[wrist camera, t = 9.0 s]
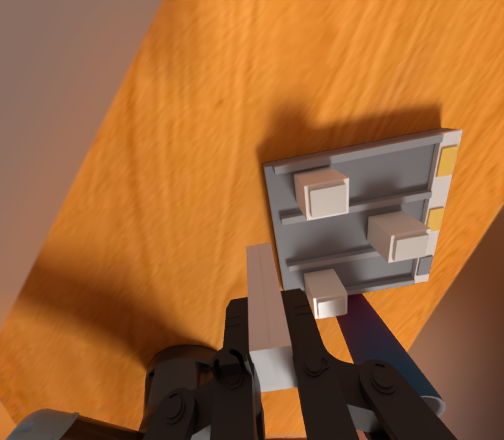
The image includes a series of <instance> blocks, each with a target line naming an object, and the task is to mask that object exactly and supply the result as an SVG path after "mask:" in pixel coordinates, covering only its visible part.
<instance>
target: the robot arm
mask: <svg viewBox="0 0 504 440" xmlns="http://www.w3.org/2000/svg"><path fill="white" fill-rule="evenodd" d="M247 285H248V297H245V298H239V299H233V300H231V301H230V303H229V305H228V306H227V308H226V318H225V319H226V320H225V330H224V342H223V348H222V349H221V350H219V351H218V352H216V351H214V350H211V349H209V348H205V347H201V346H194V345H182V346H175V347H171V348H168V349H165V350H163V351H161V352H159V353H158V354H157V355H155V356H154V358H153V359H152V360H151V363H150V365H149V368H148V371H147V374H146V378H145V394H144V411H143V418H142V422H141V425H140V428H139V431H135V430H132V429H129V428H125V427H121V426H118V425H114V424H110V423H107V422H103V421H99V420H96V419H92V418H88V417H85V416H81V415H79V413H77V412H75V413H67V412H62V411H57V410H52V409H41V410H38V411H35V412H33V413H31V414H30V415H28V416H27V417H26V418H24V419H23V420H22V421H21V422H20V423H19V424H18V426H17V427H16V428H15V429H14V430H13V431H12V433H11V434H10V435H9V436H8V437H7V439H6V440H265V425H264V411H263V407H262V403H261V392H267V391H274V390H281V389H288V388H296V387H298V393H299V398H300V404H301V410H302V415H303V420H304V425H305V430H306V435H307V440H359V437H358V435H357V432H356V429H358V430H361V431H363V432H364V434H365V436H366V437H367V439H368V440H457V439H456V437H455V436H454V435H453V434H452V433H451V432H450V430H449V429H448V428H447V427H446V426H445V425H444V423H443V422H442V421H441V420H440V419H439V417H438V416H437V415H436V414H435V413H434V412H433V410H432V409H431V408H430V407H429V406H428V405H427V403H426V402H425V401H424V400H423V399H422V398H421V396H420V395H419V394H418V393H417V392H416V391H415V389H414V388H413V387H412V386H411V385H410V384H409V382H408V381H407V380H406V379H405V378H404V376H403V375H402V374H401V373H400V372H399V371H398V370H397V369H396V368H395V367H394V366H392V365H391V364H389V363H387V362H385V361H383V360H377V359H372V360H367V361H366V362H364V363H363V364H362V365H357V364H352V363H347V362H343V361H340V360H338V359H336V358H335V357H333V356H332V355H331V354H330V353H329V352H328V351H327V350H326V348H325V346H324V344H323V342H322V339H321V336H320V333H319V330H318V327H317V324H316V321H315V319H314V316H313V313H312V310H311V307H310V304H309V301H308V298H307V295H306V294H305V293H304V292H303V291H302V290H301V289H300V288H297V289H291V290H285V291H280V287H279V282H278V277H277V272H276V267H275V262H274V257H273V253H272V248H271V243H266V244H260V245H254V246H248V247H247ZM260 389H261V390H260Z"/></svg>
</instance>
